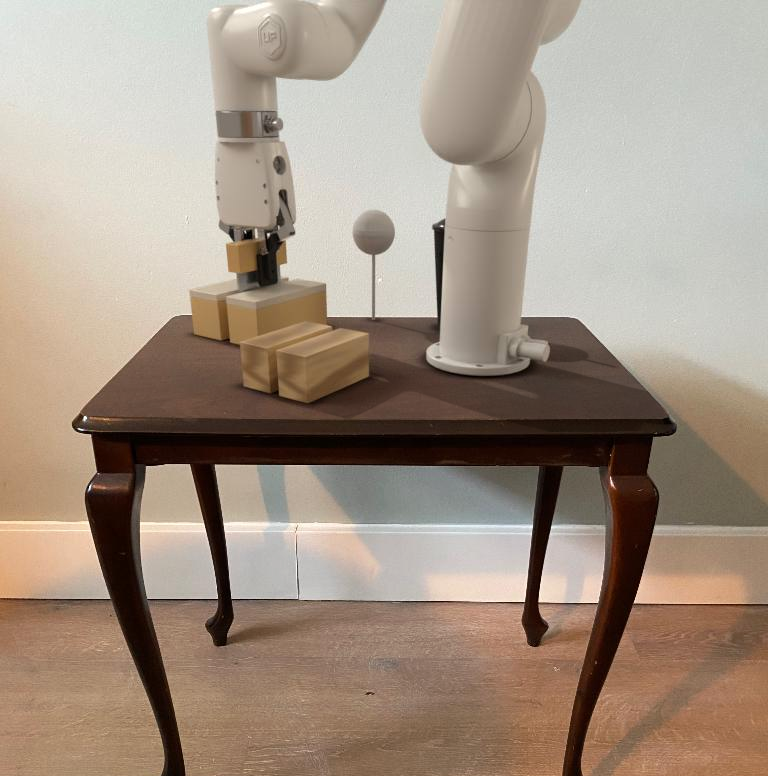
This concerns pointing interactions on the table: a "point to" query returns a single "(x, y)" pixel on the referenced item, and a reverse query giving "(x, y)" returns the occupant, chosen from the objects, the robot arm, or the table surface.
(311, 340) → the split wooden block
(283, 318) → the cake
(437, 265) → the drinking cup
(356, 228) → the lollipop
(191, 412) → the table surface
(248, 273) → the knife
